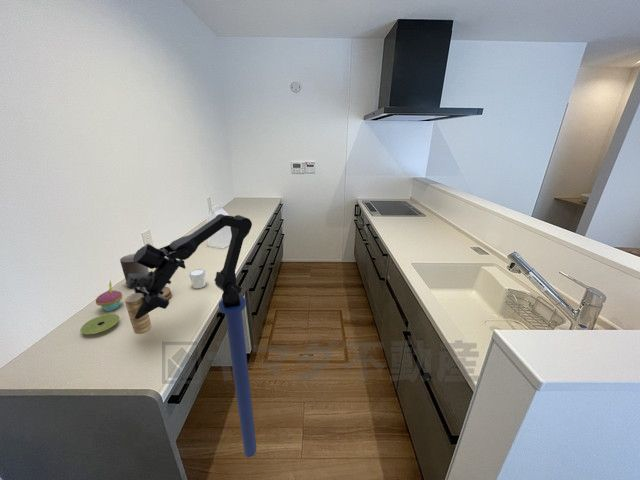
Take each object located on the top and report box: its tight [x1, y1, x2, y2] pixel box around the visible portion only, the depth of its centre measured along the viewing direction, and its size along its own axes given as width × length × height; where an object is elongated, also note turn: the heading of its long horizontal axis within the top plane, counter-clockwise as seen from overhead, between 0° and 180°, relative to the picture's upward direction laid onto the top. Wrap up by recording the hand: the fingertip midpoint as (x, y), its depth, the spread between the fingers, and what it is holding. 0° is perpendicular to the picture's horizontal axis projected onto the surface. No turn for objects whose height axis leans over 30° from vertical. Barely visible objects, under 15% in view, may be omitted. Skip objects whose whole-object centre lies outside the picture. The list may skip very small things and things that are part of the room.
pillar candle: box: [119, 252, 150, 289], centre depth 124 cm, size 10×10×15 cm
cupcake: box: [95, 280, 123, 312], centre depth 106 cm, size 9×8×12 cm
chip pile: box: [160, 286, 173, 300], centre depth 114 cm, size 10×10×3 cm
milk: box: [205, 204, 232, 250], centre depth 169 cm, size 12×12×26 cm
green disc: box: [80, 313, 120, 335], centre depth 97 cm, size 11×11×2 cm
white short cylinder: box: [188, 268, 207, 289], centre depth 124 cm, size 7×7×7 cm
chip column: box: [123, 292, 153, 335], centre depth 87 cm, size 5×5×13 cm
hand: (133, 314), depth 86 cm, fingers closed on chip column, 5 cm apart
